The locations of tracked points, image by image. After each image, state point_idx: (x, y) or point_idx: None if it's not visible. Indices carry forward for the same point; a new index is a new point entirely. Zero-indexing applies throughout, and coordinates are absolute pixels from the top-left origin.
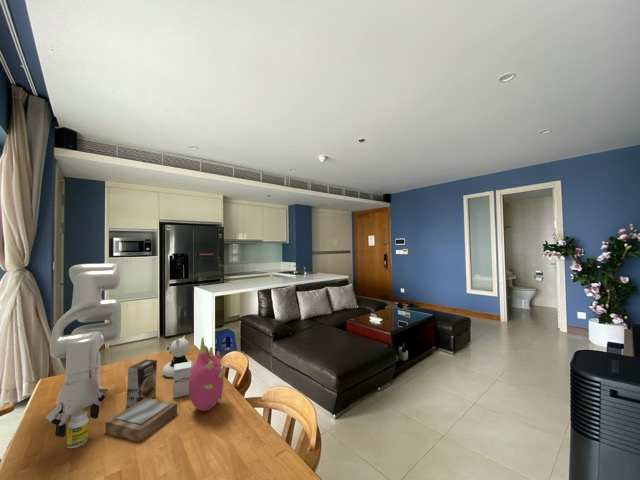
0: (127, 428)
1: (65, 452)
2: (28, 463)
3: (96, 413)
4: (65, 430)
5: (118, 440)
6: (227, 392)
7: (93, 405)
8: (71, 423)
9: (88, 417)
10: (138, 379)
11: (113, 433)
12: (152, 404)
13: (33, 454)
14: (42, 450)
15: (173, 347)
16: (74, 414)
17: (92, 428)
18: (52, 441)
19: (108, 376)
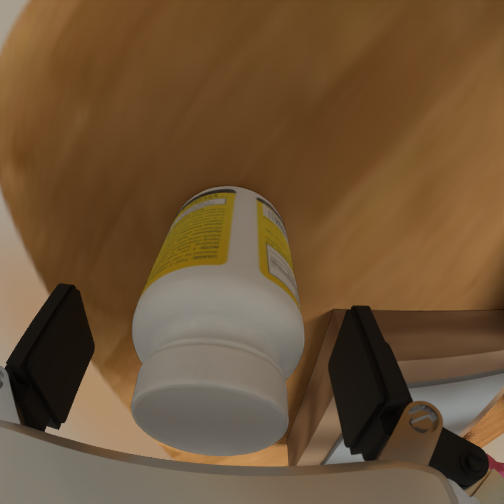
0: (303, 446)
1: (149, 248)
2: (35, 139)
3: (339, 401)
4: (79, 381)
5: (287, 392)
6: (494, 435)
7: (376, 436)
8: (147, 352)
9: (288, 377)
10: None
11: (320, 362)
12: (463, 419)
13: (78, 69)
14: (115, 78)
15: None
16: (175, 402)
17: (376, 187)
18: (199, 32)
19: None
